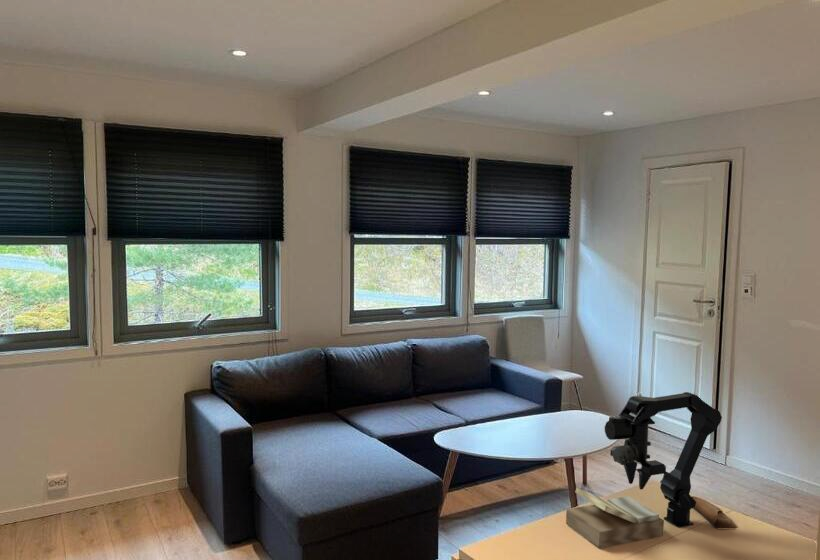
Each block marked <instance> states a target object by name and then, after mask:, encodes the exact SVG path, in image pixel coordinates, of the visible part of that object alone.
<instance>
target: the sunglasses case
mask: <svg viewBox="0 0 820 560" xmlns="http://www.w3.org/2000/svg"><path fill="white" fill-rule="evenodd" d="M691 497H692V498H693V499H694V500H695V501H696V505H695V508H693V509H694V510H696V511H697V512H698V513H699V514H700V515H701V516H703V517H704V518H705V520H707V521H708V522H709V524H711V525H712V526H713V527H715V529H716V528H739V527H738V526H737V524H736V523H735V522H734V521H733V520H732V519H731V518H730V517H729V516H727V514H726V513H724V512H723V510H722V509H721V508H720V507H718V506H717V505H715V504H713V503H711V502H709V501H707V500H706V499H703V498H701V497H698V496H692V495H691Z"/></svg>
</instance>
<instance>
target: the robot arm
mask: <svg viewBox="0 0 820 560" xmlns="http://www.w3.org/2000/svg"><path fill="white" fill-rule="evenodd" d="M685 408H686V409H687V410H688V411H689V412H690V413H691V415H690V428H691V429H690V431H689V434H688V436H687V438H686V441H685V443H684V446H683V448H682V450H681V453H680V455H679V457H678V460H677V462H676V464H675V467H674V468H673V470H671V471H670V472H668V471H666V470H667V466H666V465H665V464H664V463H663V462H660V461H659V460H656V459H654V460H647V459H651V455H650V454H648V448H649V447H650V446H651V445H652V444H651V443H652V442H651V441H649V425H655V424H656V421H654V420H653V418H652V417H655V416H656V415H657V414H658V413H661V412H668V411H672V410H673V411H674V410H677V409H678V410H679V409H680V410H681V409H685ZM722 418H723V417H722V413H721V412H720V410H718V409H717V408H714V407H712V405H710V404H708V403H707V402H705V401H704V400H702V398H700V396H698V395H697V394H695V393H691V392H690V391H686V392H685V391H684V392H682V393H677V394H669V395H665V396H657V397H650V396H649V397H648V396H641V395H633V396H630V397H629V398H628V400H627V403H626V404H625V406H624V407H623V408H622V409H621V411H620V413H619V415H618V417H617V416H616V417H615V416H610V417H609V418H608V421H606V422H605V425H604V433H605V436H606V438H607V439H608V440H610V441H612V440H613V441H614V440H624V444H623V445H616V446H612V448H611V449H610V452H609V455H610V456H611V457H612V459H613V461H614V462H615V463H618V464H619V465H621V466H623V468H624V470H625V473H626V477H627V481H628V484H630V485H631V484H633V483H634V480H635V475H636V472H637V473H638V486H639V487H638V488H639V490H644V488H645V486H646V485H647V483H648V481H649V480H650V478H651V477H652V476H657V475H662V479H661V480H660V482H659V483H660V485H659V486H660V490H661V493H662V494H663V497H664V499H665V500H667V501H668V503H667V508H666V516H663V520H664V521H666V522H668V523H670V524H672V525H673V526H675V527H677V528H683V527H689V526H693V525H694V522H692V521H691V520H690V519H691V510H692V509H694V508H695V505H696V501H695V500H694V499H693V498H692V495H690V493H691V489H692V482H691V477H692V476H691V475H692V473H693V471H694V468H695V466H696V464H697V462H698V459H699V456H700V454H701V452H702V450H703V447H704V445H705V444H706V441H707V439H708V436H709V435H711V434H712V433H714V432H715V431H716V430H717V429H718V427H719V425H721V422H722ZM638 464H639V465H641V466H640V468H637V466H638Z"/></svg>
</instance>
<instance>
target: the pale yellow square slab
mask: <svg viewBox="0 0 820 560" xmlns="http://www.w3.org/2000/svg"><path fill="white" fill-rule="evenodd" d="M574 492H575V493H576V494H577V495H579V496H580V497H581V498H584V499H585V500H587V501H588V502H590V503H591V504H592V505H596V506H597V507H599V508H601V509H602V510H604V511H606V512H608V513H611V514H613V515H616V516H618V517H621V518H623V519H626V520H628V521H631V522H633V523H636V521H637V518H636V517H634V516H632V515H631V514H629V513H627V512H626V511H624V510H622V509H621V508H619V507H618V506H616V505H614V504H613V503H611V502H609V501H608V499H606V498H603V497H600V496H599V495H596V494H593V493H591V492H589V491H586V490H584V489H581V488H579V487H576V489H575V491H574Z"/></svg>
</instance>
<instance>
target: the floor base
mask: <svg viewBox="0 0 820 560" xmlns="http://www.w3.org/2000/svg"><path fill="white" fill-rule="evenodd" d="M607 500H608V501H609V502H611V503H613V504H614V505H616V506H618V507H619V508H621V509H622V510H624V511H626V512H627V513H629V514H631V515H632V516H634V517H636V518H637V521H636V523H633V522H631V521H628V520H626V519H623V518H621V517H618V516H616V515H613V514H611V513H608V512H606V511H604V510H602V509H601V508H599V507H597V506H596V505H594V504H588V505H585V506H584V505H583V506H577V507H572V508H566V513H565V514H566V515H565V518H566V519H565V525H566V524H567V525H568V526H567V525H566V526H567V527H569V528H570V527H571V528H572V529H571V528H570V529H571V530H573V531H574V532H576V534H578V535H580V536H581V537H582V538H583V539H584V540H586V541H588V542H589V543H591V544H592V545H593V546H594V547H595V548H597V549H600V550H601V549H604V548H609V547H610V548H611V547H616V546H619V545H624V544H630V543H635V542H640V541H644V540H645V541H646V540H647V541H648V540H651V539H655V538H660V537H664V527H665V526H664V525H665V519H663V518H661V517H660V514H659V513H657V512H655V511H654V510H652V509H650V508H649V507H646V506H645V505H643V504H642V503H640V502H638V501H636V500H635V499H632V498H631V497H630V496H621V497H615V498H608V499H607Z"/></svg>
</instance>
